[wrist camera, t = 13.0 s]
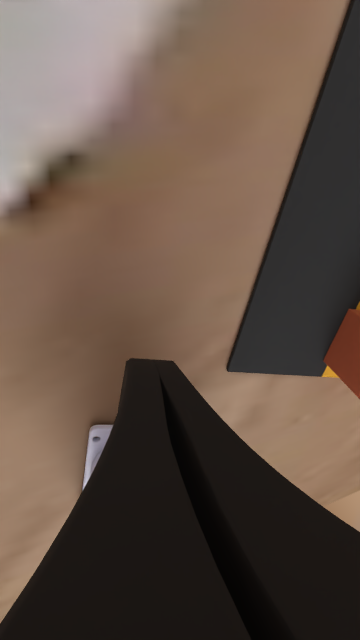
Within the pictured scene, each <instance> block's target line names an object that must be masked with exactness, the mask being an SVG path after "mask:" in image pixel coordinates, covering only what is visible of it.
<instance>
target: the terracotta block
mask: <svg viewBox="0 0 360 640" xmlns="http://www.w3.org/2000/svg"><path fill="white" fill-rule="evenodd" d="M323 361H324V362H325V363H326V364H327V365H328V366H329V367H330V369H331V370H332V371H333V372H334V373H335V374H336V375H337V376H338V377H339V378H340V379H341V380H342V381H343V382H344V383H345V384H346V385H347V386H348V387H349V388H350V389H351V390H352V391H353V392H354V394H355V395H356V396H357V397H358V398H359V399H360V310H356V309H348V311H347V313H346V315H345V317H344V319H343V321H342V324H341V326H340V328H339V330H338V332H337V334H336V336H335V338H334V340H333V342H332V344H331V346H330V348H329V350H328V352H327V354H326V356H325V358H324V360H323Z"/></svg>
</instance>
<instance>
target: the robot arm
mask: <svg viewBox="0 0 360 640" xmlns="http://www.w3.org/2000/svg"><path fill="white" fill-rule="evenodd" d="M0 640H360V532H359V531H357V530H356V529H354V528H353V527H351V526H350V525H348V524H347V523H345V522H344V521H342V520H341V519H339V518H338V517H336V516H335V515H334V514H332V513H331V512H330V511H328V510H327V509H325V508H324V507H323V506H321V505H320V504H318V503H317V502H316V501H314V500H313V499H312V498H310V497H309V496H308V495H307V494H305V493H304V492H303V491H301V490H300V489H299V488H297V487H296V486H295V485H294V484H292V483H291V482H290V481H288V480H287V479H286V478H285V477H283V476H282V475H281V474H280V473H279V472H277V471H276V470H275V469H274V468H273V467H272V466H270V465H269V464H268V463H267V462H266V461H265V460H264V459H262V458H261V457H260V456H259V455H258V454H257V453H256V452H255V451H253V450H252V449H251V448H250V447H249V446H248V445H247V444H246V443H245V442H244V441H243V440H242V439H241V438H240V437H239V436H238V435H237V434H236V433H235V432H234V431H233V430H232V429H231V428H230V427H229V426H228V425H227V424H226V423H225V422H224V421H223V420H222V419H221V417H220V416H219V415H218V414H217V413H216V412H215V411H214V410H213V409H212V408H211V406H210V405H209V404H208V403H207V402H206V401H205V400H204V398H203V397H202V396H201V395H200V394H199V392H198V391H197V390H196V389H195V388H194V386H193V385H192V384H191V383H190V381H189V380H188V379H187V378H186V376H185V375H184V374H183V373H182V371H181V370H180V369H179V368H178V366H177V365H176V364H175V363H174V362H173V361H167V360H150V359H134V358H131V359H129V360H128V361H126V365H125V371H124V377H123V383H122V389H121V395H120V401H119V407H118V413H117V416H116V419H115V421H114V424H113V425H94V426H92V427H91V428H90V430H89V439H88V447H87V455H86V464H85V472H84V480H83V489H82V493H81V495H80V497H79V499H78V501H77V502H76V504H75V506H74V508H73V510H72V511H71V513H70V515H69V517H68V518H67V520H66V522H65V523H64V525H63V527H62V528H61V530H60V532H59V533H58V535H57V537H56V538H55V540H54V542H53V543H52V545H51V547H50V548H49V550H48V552H47V553H46V555H45V556H44V558H43V560H42V561H41V563H40V565H39V566H38V568H37V569H36V571H35V573H34V574H33V576H32V577H31V579H30V580H29V582H28V583H27V585H26V586H25V588H24V589H23V591H22V592H21V594H20V595H19V597H18V598H17V600H16V601H15V603H14V604H13V606H12V607H11V609H10V610H9V612H8V613H7V615H6V616H5V618H4V619H3V621H2V622H1V624H0Z"/></svg>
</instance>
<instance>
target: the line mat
mask: <svg viewBox="0 0 360 640" xmlns="http://www.w3.org/2000/svg"><path fill="white" fill-rule="evenodd" d="M348 309H356V310H360V0H351V3H350V6H349V9H348V12H347V15H346V18H345V20H344V23H343V26H342V29H341V32H340V35H339V38H338V41H337V44H336V47H335V50H334V53H333V56H332V59H331V62H330V65H329V68H328V71H327V74H326V77H325V79H324V82H323V85H322V88H321V91H320V94H319V97H318V100H317V103H316V106H315V109H314V112H313V115H312V118H311V121H310V124H309V127H308V130H307V133H306V136H305V138H304V141H303V144H302V147H301V150H300V153H299V156H298V159H297V162H296V165H295V168H294V171H293V174H292V177H291V180H290V183H289V186H288V189H287V192H286V195H285V197H284V200H283V203H282V206H281V209H280V212H279V215H278V218H277V221H276V224H275V227H274V230H273V233H272V236H271V239H270V242H269V245H268V248H267V251H266V254H265V256H264V259H263V262H262V265H261V268H260V271H259V274H258V277H257V280H256V283H255V286H254V289H253V292H252V295H251V298H250V301H249V304H248V307H247V310H246V313H245V315H244V318H243V321H242V324H241V327H240V330H239V333H238V336H237V339H236V342H235V345H234V348H233V351H232V354H231V357H230V360H229V363H228V366H227V371H228V372H246V373H264V374H282V375H301V376H319V377H338V376H337V375H336V374H335V373H334V372H333V371H332V370H331V369H330V367H329V366H328V365H327V364H326V363H325V362H324V361H323V360H324V358H325V356H326V354H327V352H328V350H329V348H330V346H331V344H332V342H333V340H334V338H335V336H336V334H337V332H338V330H339V328H340V326H341V324H342V321H343V319H344V317H345V315H346V313H347V311H348ZM338 378H339V377H338Z"/></svg>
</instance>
